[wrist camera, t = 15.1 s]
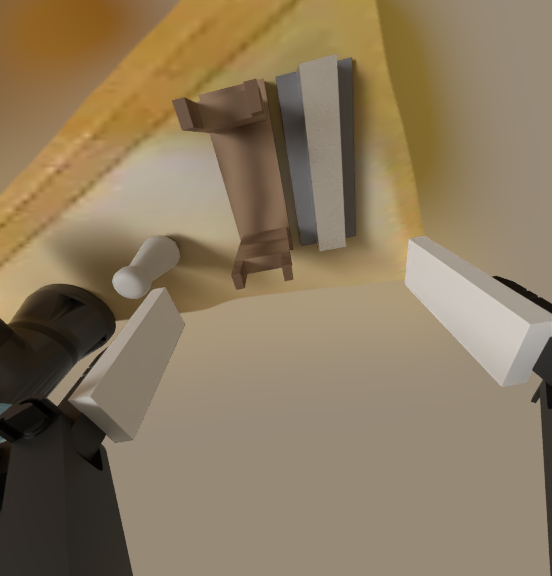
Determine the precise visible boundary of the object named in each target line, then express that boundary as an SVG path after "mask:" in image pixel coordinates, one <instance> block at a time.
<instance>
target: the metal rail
mask: <svg viewBox="0 0 552 576" xmlns="http://www.w3.org/2000/svg"><path fill="white" fill-rule="evenodd" d="M296 73H297V82H298V91H299V99H300V108H301V116H302V125H303V134H304V142H305V151H306V160H307V168H308V177H309V185H310V194H311V203H312V211H313V220H314V229H315V237H316V244H317V246H318V249H319V251H326V250H331V249H337V248H342V247H346V241H345V219H344V198H343V177H342V156H341V134H340V113H339V92H338V71H337V54H335V55H331V56H328V57H324V58H320V59H316V60H312V61H308V62H305V63H301V64H299V65H298V68H297V71H296Z"/></svg>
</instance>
